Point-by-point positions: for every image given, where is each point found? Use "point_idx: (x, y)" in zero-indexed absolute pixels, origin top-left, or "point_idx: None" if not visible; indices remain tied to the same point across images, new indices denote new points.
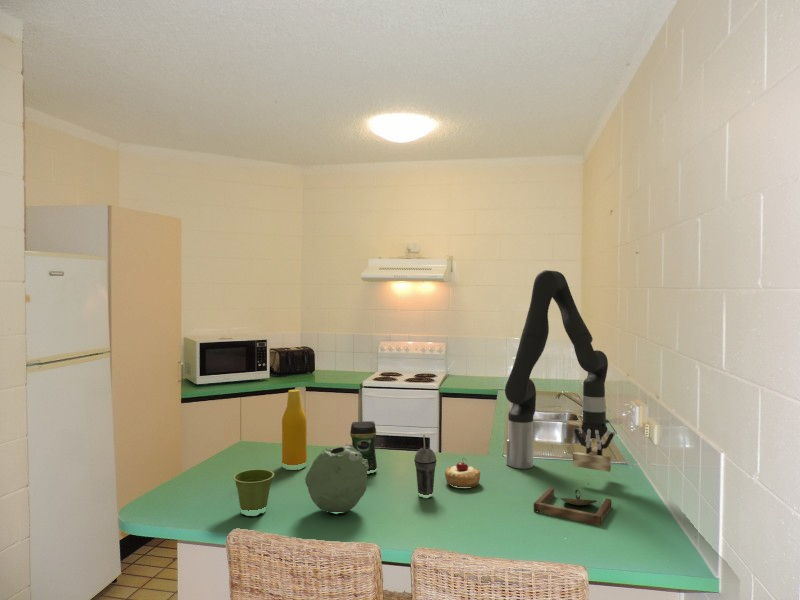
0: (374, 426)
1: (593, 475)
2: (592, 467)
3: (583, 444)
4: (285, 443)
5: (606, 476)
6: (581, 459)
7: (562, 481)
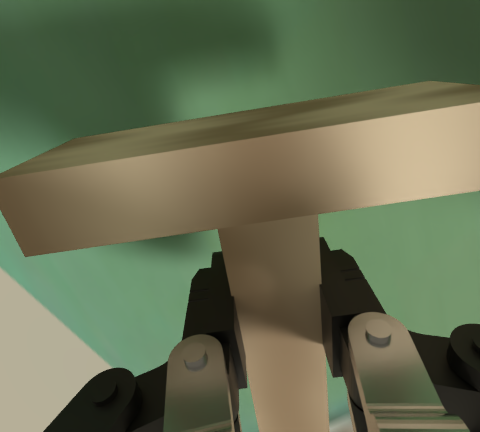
0: None
1: None
2: (233, 116)
3: (462, 344)
4: None
5: None
6: (373, 105)
7: (437, 71)
